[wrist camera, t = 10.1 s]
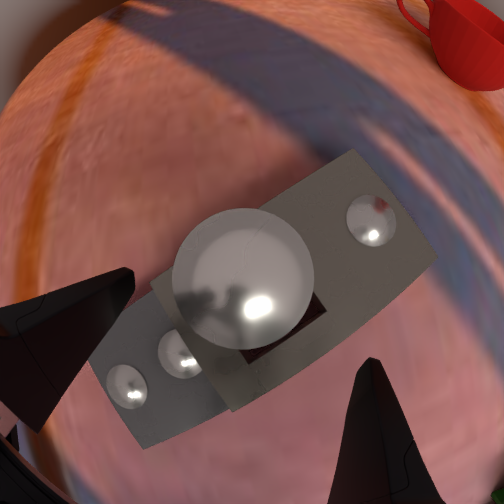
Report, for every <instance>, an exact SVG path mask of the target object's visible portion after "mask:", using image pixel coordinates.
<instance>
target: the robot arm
mask: <svg viewBox="0 0 504 504" xmlns="http://www.w3.org/2000/svg"><path fill="white" fill-rule="evenodd" d="M134 291H135V276H134V272H133V270H131V269H129V268H127V267H122V268H119V269H116V270H113V271H110V272H107V273H104V274H101V275H98V276H95V277H92V278H89V279H87V280H84V281H81V282H78V283H75V284H72V285H69V286H66V287H64V288H61V289H58V290H55V291H52V292H49V293H47V294H44V295H41V296H38V297H35V298H32V299H29V300H26V301H23V302H19V303H16V304H12V305H8V306H5V307H1V308H0V504H78V503H76V502H75V501H74V500H72V499H71V498H70V497H68V496H67V495H66V494H64V493H63V492H62V491H61V490H59V489H58V488H57V487H56V486H54V485H53V484H52V483H51V482H50V481H48V480H47V479H46V478H45V477H44V476H43V475H42V474H40V473H39V472H38V471H37V470H36V469H35V468H34V467H33V466H32V465H31V464H30V463H29V462H28V461H26V460H25V459H24V458H23V457H22V456H21V455H20V454H19V443H18V435H17V425H16V423H17V422H18V420H19V419H20V420H21V421H22V422H23V423H24V424H26V425H27V426H28V427H29V428H30V429H32V430H33V431H34V432H35V433H36V434H38V433H39V432H40V430H41V429H42V427H43V425H44V424H45V422H46V421H47V419H48V418H49V416H50V414H51V413H52V411H53V410H54V408H55V407H56V405H57V404H58V402H59V401H60V399H61V397H62V396H63V394H64V393H65V391H66V390H67V388H68V387H69V386H70V384H71V383H72V381H73V380H74V378H75V377H76V375H77V374H78V372H79V371H80V370H81V368H82V367H83V365H84V364H85V363H86V361H87V360H88V358H89V357H90V356H91V354H92V353H93V351H94V350H95V349H96V347H97V346H98V345H99V343H100V342H101V341H102V339H103V338H104V337H105V335H106V334H107V333H108V331H109V330H110V329H111V327H112V326H113V325H114V323H115V322H116V320H117V319H118V317H119V316H120V314H121V312H122V311H123V309H124V307H125V306H126V304H127V302H128V301H129V299H130V298H131V296H132V294H133V293H134ZM413 439H414V438H413V435H412V433H411V430H410V428H409V425H408V423H407V420H406V418H405V416H404V413H403V411H402V408H401V406H400V404H399V401H398V399H397V397H396V395H395V392H394V390H393V388H392V386H391V383H390V381H389V379H388V377H387V375H386V372H385V370H384V368H383V366H382V364H381V362H380V360H378V359H375V358H371V357H369V358H368V359H367V360H366V361H365V362H364V363H363V365H362V366H361V367H360V368H359V370H358V371H357V374H356V377H355V381H354V386H353V390H352V394H351V397H350V401H349V405H348V409H347V413H346V419H345V425H344V431H343V436H342V442H341V447H340V452H339V457H338V462H337V466H336V471H335V475H334V479H333V483H332V487H331V491H330V495H329V499H328V503H327V504H446V503H445V502H444V501H443V500H442V498H441V497H440V495H439V493H438V491H437V489H436V487H435V485H434V483H433V481H432V479H431V477H430V475H429V473H428V471H427V468H426V466H425V464H424V462H423V460H422V457H421V455H420V452H419V450H418V448H417V445H416V442H415V440H413Z"/></svg>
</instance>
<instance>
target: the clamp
mask: <svg viewBox="0 0 504 504" xmlns="http://www.w3.org/2000/svg"><path fill="white" fill-rule="evenodd" d="M491 497H492V498H493V500H494V501H495V502H496V504H504V488H503V489H500V490H497V491H494V492H492V494H491Z"/></svg>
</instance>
